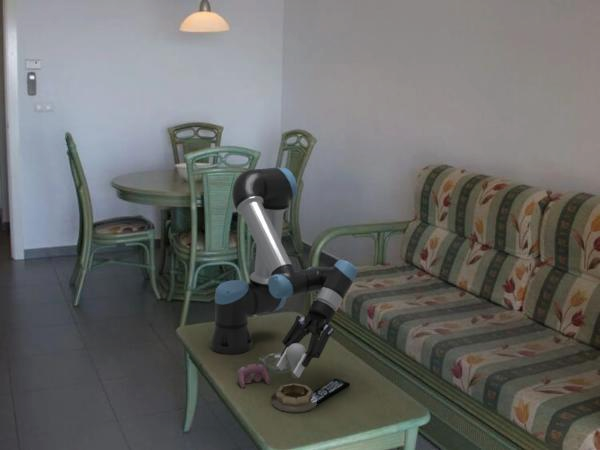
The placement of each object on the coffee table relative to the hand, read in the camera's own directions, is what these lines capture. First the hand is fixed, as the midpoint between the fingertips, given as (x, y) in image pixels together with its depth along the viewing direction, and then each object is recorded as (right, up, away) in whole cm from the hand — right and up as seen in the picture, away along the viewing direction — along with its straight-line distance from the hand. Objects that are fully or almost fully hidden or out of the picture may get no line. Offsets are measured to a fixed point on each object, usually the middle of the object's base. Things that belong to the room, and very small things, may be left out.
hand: (287, 371), depth 203 cm
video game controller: (-11, -8, +17) cm, 22 cm away
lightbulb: (+2, -3, +3) cm, 5 cm away
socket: (+2, -10, +5) cm, 12 cm away
